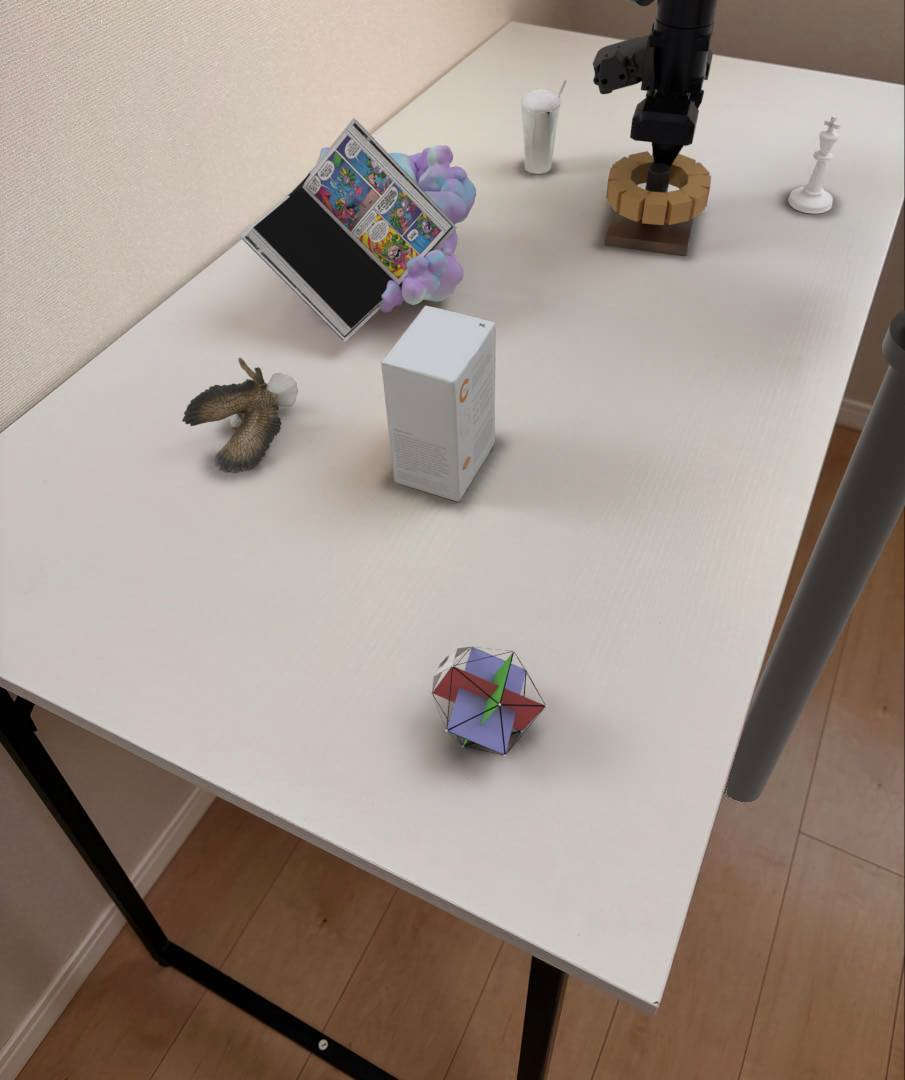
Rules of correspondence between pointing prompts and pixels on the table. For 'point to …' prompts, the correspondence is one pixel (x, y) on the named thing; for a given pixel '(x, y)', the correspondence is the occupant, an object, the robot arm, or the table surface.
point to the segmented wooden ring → (658, 204)
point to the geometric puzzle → (486, 699)
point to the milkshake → (540, 128)
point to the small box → (441, 401)
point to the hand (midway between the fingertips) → (661, 168)
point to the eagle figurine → (244, 415)
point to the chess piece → (817, 176)
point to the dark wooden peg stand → (650, 235)
